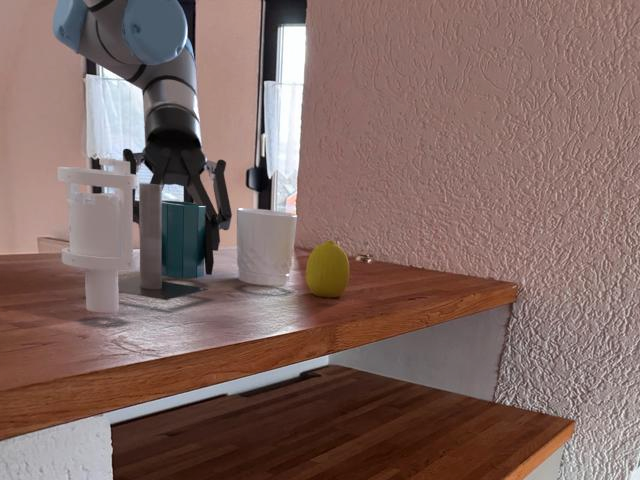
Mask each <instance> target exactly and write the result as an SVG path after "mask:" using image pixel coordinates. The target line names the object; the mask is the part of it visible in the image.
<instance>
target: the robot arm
mask: <svg viewBox="0 0 640 480" xmlns="http://www.w3.org/2000/svg"><path fill="white" fill-rule="evenodd" d="M53 12H54V13H53V18H52V32H53V35H54V37H55V38H56V40H57V41H59V42H60V43H61V44H63V45H64V46H66V47H68V48H69V49H71V51H73V52H74V53H75V54H76V55H80V56H82V57H84V58H85V59H88V60H89V61H91V62H93V63H94V64H96V65H98V66H100V67H102V68H104V69H105V70H107V71H109V72H111V73H112V74H114V75H115V76H118V77H119V78H121V79H123V80H124V81H126V82H128V83H130V84H131V85H133V86H135V87H137V88H138V89H140V90H141V94H142V104H143V105H142V106H143V122H144V145H145V146H144V147H143V148H142V151H141V152H133V151H132V149H130V148H123V150H122V161H128V162H130V174H134V175H137V173H139V171H140V170H141V169H142V165H144V166H145V167H146V168H147V169H148V170H149V172H151V173H152V176H151V179H150V182H149V183H150V184H158V185H162V191H164V187H165V186H166V185H168V186H172V185H173V186H174V185H176V186H179V187H185V188H186V191H187V193H188V195H190V196H191V198H192V200H193V203H197V204H203V205H204V206H206V214H205V251H204V272H205V275H210V276H212V274H213V270H214V264H215V260H214V259H215V258H214V252H215V251H216V252H218V251H219V249H220V243H221V238H220V237H221V235H220V230H223V231H228V230H230V227H231V222H232V217H233V213H232V208H231V203H230V198H229V194H228V188H227V182H226V178H225V173H226V167H227V162H226V160H224V159H218V160H216V161H217V162H216V161H213V160H209V159H208V158H207V156H206V155H205V153H204V151H203V143H202V132H201V119H200V109H199V100H198V85H197V82H198V81H197V63H196V58H195V55H194V50H193V46H192V43H191V41H190V39H189V37H188V32H189V31H188V21H187V18H186V14H185V12H184V9H183V7H182V6H181V4H180V2H179V1H178V0H57V3H56V6H55V8H54V11H53ZM205 171H206V172H207V173H208V177H209V178H210V181H212V183H213V184H212V187H213V192H214V193H213V194H214V198H215V204H216V208H215V207H214V205H213V203H212V201H211V198H210V196H209V194H208V192H207V190H206V188H205V186H204V184H203V182H202V180H201V175H202V174H203V173H204V172H205ZM136 189H137V188H136ZM136 189H132V199H133V223H136V224H137V225H138V231H139V236H140V216H139V207H137V206H136ZM216 209H217V211H216Z"/></svg>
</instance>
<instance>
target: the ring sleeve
mask: <svg viewBox="0 0 640 480" xmlns="http://www.w3.org/2000/svg"><path fill="white" fill-rule="evenodd" d="M205 214H206V206H204V205H203V204H197V203H195V202H189V201H181V200H170V199H169V200H168V199H162V253H161V276H164V277H168V278H179V279H200V278H203V277H205V259H204V251H205Z"/></svg>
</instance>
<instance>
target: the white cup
mask: <svg viewBox="0 0 640 480" xmlns="http://www.w3.org/2000/svg"><path fill="white" fill-rule="evenodd" d="M297 221H298V215H297V214H295V213H291V212H286V211H279V210H272V209H263V208H249V207H239V208H237V209H236V265H237V268H238V269H237V279H238V280H239V281H241V282H244V283H247V284H253V285H259V286H273V287H274V286H275V287H277V286H278V287H279V286H280V287H281V286H287V285H289V283H290V273H291V270H292V266H293V265H292V263H293V256H294V249H295V240H296V231H297Z"/></svg>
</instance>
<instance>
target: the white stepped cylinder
mask: <svg viewBox="0 0 640 480" xmlns="http://www.w3.org/2000/svg"><path fill="white" fill-rule="evenodd" d="M98 160H99V165H101V166H107V167H113V170H104V169H96V168H83V167H72V166H71V167H70V166H69V167H68V166H57V181H59V182H62V183H66V194H67V195H66V196H67V218H68V235H69V236H68V240H69V241H68V242H69V246H67V247H63V248H61V262H62V264H65V265H66V266H69V267H74V268H75V267H76V268H79V269H81V268H82V269H84V281H85V283H84V285H85V287H84V288H85V304H86V306H85V307H86V308H85V309H86V310H87V311H88V312H91V313H99V314H100V313H102V314H111V313H112V314H113V313H117V312H119V311H120V304H119V293H120V292H119V291H118V280H119V271H132V270H138V269H140V253H137V252H134V221H133V199H132V189H138V190H139V183H140V176H139V175H138V174H136V175H134V174H130V162H128V161H123V160H119V159H116V158H108V157H102V158H99V159H98ZM81 185H82V186H90V187H100V188H109V189H110V188H111V189H113V190H114V191H113V192H112V193H111V192H110V193H109V192H100V193H88V192H81Z"/></svg>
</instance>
